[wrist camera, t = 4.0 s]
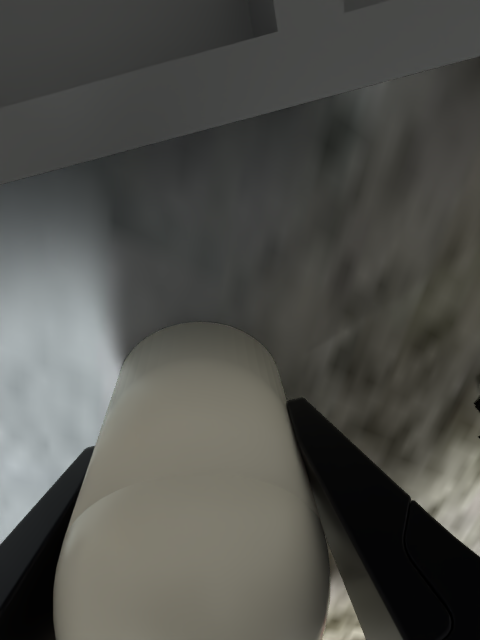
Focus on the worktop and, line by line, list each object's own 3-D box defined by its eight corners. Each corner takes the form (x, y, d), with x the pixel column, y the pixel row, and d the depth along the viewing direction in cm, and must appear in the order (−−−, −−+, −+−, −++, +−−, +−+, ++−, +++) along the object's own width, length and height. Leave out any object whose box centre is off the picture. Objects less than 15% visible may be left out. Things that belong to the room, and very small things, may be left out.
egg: (291, 429, 11) (384, 767, 5) (151, 461, 11) (94, 822, 5) (263, 303, 9) (367, 641, 3) (90, 345, 9) (-110, 739, 3)
